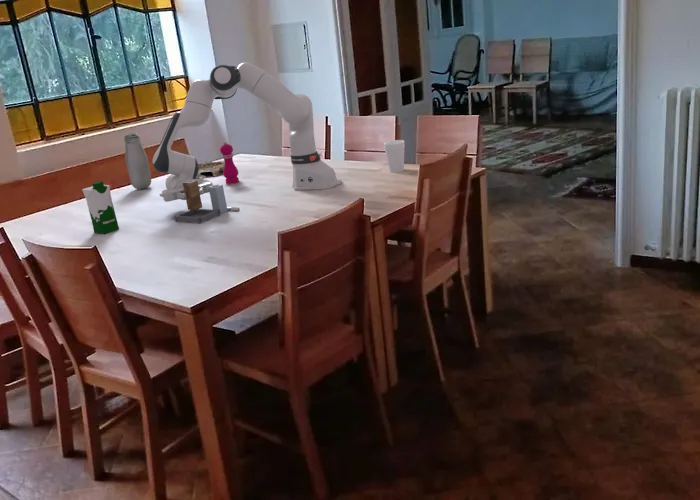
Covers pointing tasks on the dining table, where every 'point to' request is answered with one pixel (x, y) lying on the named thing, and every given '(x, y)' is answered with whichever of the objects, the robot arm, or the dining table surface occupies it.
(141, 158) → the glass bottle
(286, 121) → the robot arm
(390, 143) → the foam cup
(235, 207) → the pin gauge
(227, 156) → the pepper mill
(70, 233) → the dining table surface
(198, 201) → the walnut block
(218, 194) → the greyblue block
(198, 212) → the tray
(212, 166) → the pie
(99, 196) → the milk carton
